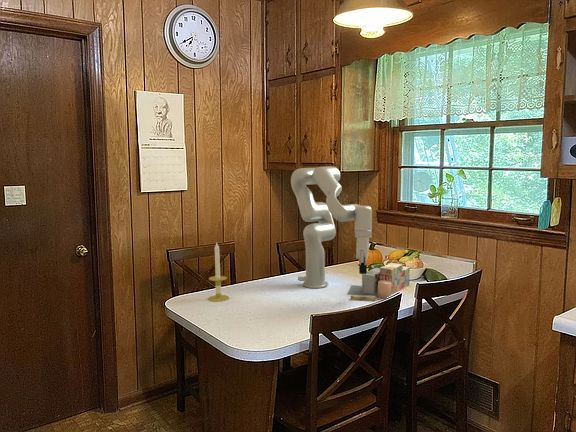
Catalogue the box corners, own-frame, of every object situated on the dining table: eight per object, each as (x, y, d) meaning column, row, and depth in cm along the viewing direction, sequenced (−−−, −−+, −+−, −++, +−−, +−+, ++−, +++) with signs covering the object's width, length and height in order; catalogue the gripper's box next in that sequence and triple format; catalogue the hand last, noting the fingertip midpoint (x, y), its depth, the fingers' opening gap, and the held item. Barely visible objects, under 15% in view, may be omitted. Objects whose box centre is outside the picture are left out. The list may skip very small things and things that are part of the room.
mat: (347, 294, 227) (347, 294, 227) (351, 286, 242) (351, 285, 242) (381, 296, 223) (381, 295, 223) (383, 287, 239) (383, 286, 238)
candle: (214, 294, 231) (212, 239, 228) (233, 296, 228) (231, 240, 225) (203, 300, 222) (201, 243, 219) (223, 302, 219) (221, 244, 215)
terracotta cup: (376, 298, 220) (377, 283, 218) (377, 293, 226) (378, 279, 224) (390, 299, 218) (391, 285, 217) (390, 295, 224) (391, 280, 223)
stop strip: (350, 300, 218) (350, 296, 218) (350, 299, 220) (350, 295, 219) (375, 301, 216) (375, 297, 216) (375, 300, 217) (375, 296, 217)
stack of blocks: (397, 283, 246) (398, 259, 244) (409, 285, 242) (410, 261, 240) (378, 292, 229) (379, 267, 227) (391, 294, 225) (392, 269, 223)
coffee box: (374, 275, 224) (387, 268, 238) (361, 274, 228) (374, 267, 241) (374, 294, 225) (387, 286, 239) (361, 292, 229) (374, 284, 242)
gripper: (356, 230, 224) (356, 269, 226) (353, 236, 210) (352, 277, 212) (372, 231, 222) (372, 270, 224) (370, 236, 208) (370, 278, 210)
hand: (362, 273), depth 218 cm, fingers closed
